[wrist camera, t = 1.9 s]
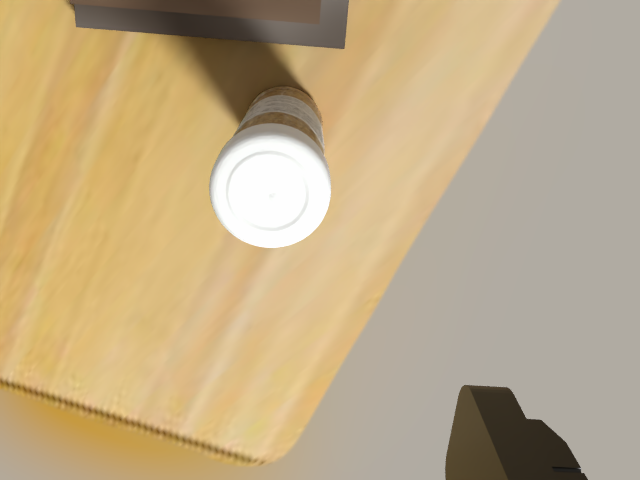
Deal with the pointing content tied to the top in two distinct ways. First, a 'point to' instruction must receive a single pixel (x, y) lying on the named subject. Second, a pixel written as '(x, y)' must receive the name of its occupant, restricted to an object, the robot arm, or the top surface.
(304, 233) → the sprinkles bottle
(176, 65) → the top surface
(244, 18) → the wooden tiered slot stand
